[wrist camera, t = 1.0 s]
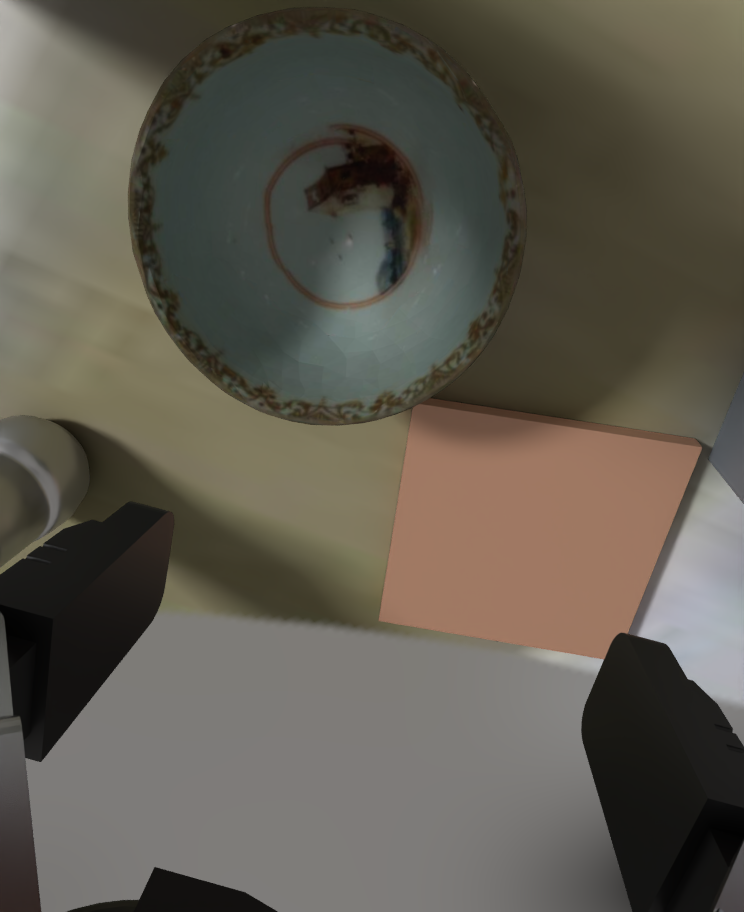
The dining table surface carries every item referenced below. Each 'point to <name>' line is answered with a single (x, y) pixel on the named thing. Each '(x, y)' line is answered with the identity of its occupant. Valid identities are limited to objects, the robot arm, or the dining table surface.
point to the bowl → (326, 214)
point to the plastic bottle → (37, 480)
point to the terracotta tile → (529, 525)
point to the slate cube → (732, 444)
